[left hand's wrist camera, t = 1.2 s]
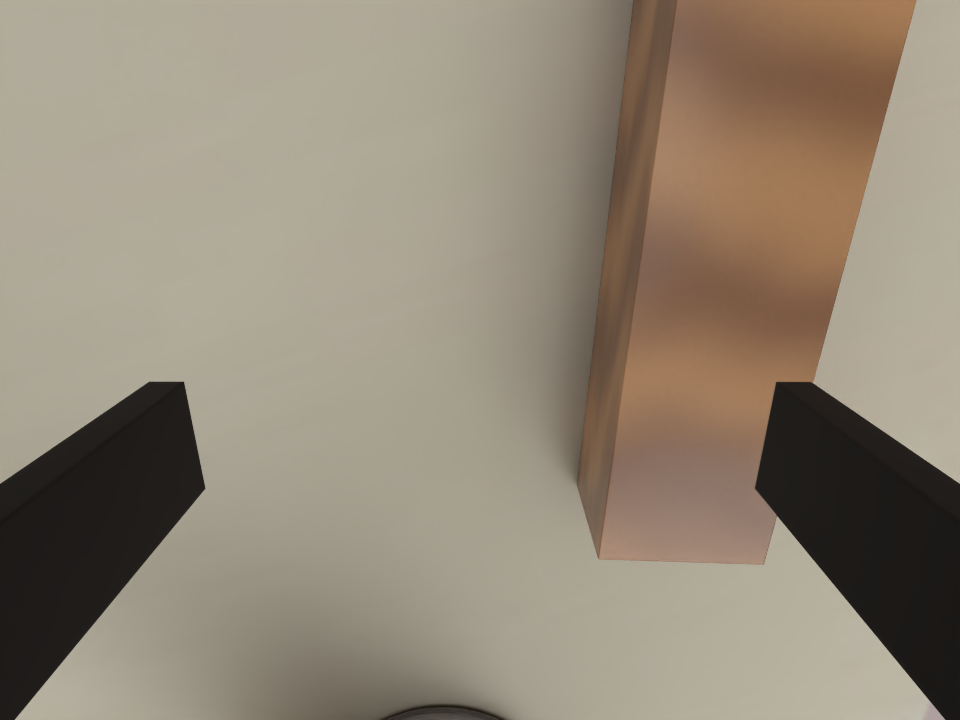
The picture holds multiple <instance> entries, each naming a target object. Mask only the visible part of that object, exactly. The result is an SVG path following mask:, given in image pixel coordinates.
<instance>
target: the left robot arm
mask: <svg viewBox="0 0 960 720" xmlns="http://www.w3.org/2000/svg"><path fill="white" fill-rule="evenodd" d="M204 489H205V485H204V480H203V475H202V470H201V465H200V460H199V455H198V450H197V445H196V440H195V435H194V430H193V425H192V420H191V415H190V410H189V405H188V400H187V395H186V390H185V385H184V382H148V383H147V384H145V385H144V386H143V387H141V388H140V389H138V390H137V391H135V392H134V393H132V394H131V395H129V396H128V397H126V398H125V399H124V400H122V401H121V402H119V403H118V404H116V405H115V406H113V407H112V408H110V409H109V410H107V411H106V412H105V413H103V414H102V415H100V416H99V417H97V418H96V419H94V420H93V421H91V422H90V423H88V424H87V425H86V426H84V427H83V428H81V429H80V430H78V431H77V432H75V433H74V434H72V435H71V436H70V437H68V438H67V439H65V440H64V441H62V442H61V443H59V444H58V445H56V446H55V447H53V448H52V449H51V450H49V451H48V452H46V453H45V454H43V455H42V456H40V457H39V458H37V459H36V460H34V461H33V462H32V463H30V464H29V465H27V466H26V467H24V468H23V469H21V470H20V471H18V472H17V473H15V474H14V475H13V476H11V477H10V478H8V479H7V480H5V481H4V482H2V483H1V484H0V720H15V719H16V717H17V716H18V715H19V714H20V713H21V711H22V710H23V709H24V708H25V707H26V705H27V704H28V703H29V702H30V700H31V699H32V698H33V697H34V696H35V694H36V693H37V692H38V691H39V690H40V688H41V687H42V686H43V685H44V683H45V682H46V681H47V680H48V679H49V677H50V676H51V675H52V674H53V673H54V671H55V670H56V669H57V668H58V666H59V665H60V664H61V663H62V662H63V660H64V659H65V658H66V657H67V656H68V654H69V653H70V652H71V651H72V650H73V648H74V647H75V646H76V645H77V643H78V642H79V641H80V640H81V639H82V637H83V636H84V635H85V634H86V633H87V631H88V630H89V629H90V628H91V626H92V625H93V624H94V623H95V622H96V620H97V619H98V618H99V617H100V616H101V614H102V613H103V612H104V611H105V610H106V608H107V607H108V606H109V605H110V603H111V602H112V601H113V600H114V599H115V597H116V596H117V595H118V594H119V593H120V591H121V590H122V589H123V588H124V586H125V585H126V584H127V583H128V582H129V580H130V579H131V578H132V577H133V576H134V574H135V573H136V572H137V571H138V569H139V568H140V567H141V566H142V565H143V563H144V562H145V561H146V560H147V559H148V557H149V556H150V555H151V554H152V553H153V551H154V550H155V549H156V548H157V546H158V545H159V544H160V543H161V542H162V540H163V539H164V538H165V537H166V536H167V534H168V533H169V532H170V531H171V529H172V528H173V527H174V526H175V525H176V523H177V522H178V521H179V520H180V519H181V517H182V516H183V515H184V514H185V513H186V511H187V510H188V509H189V508H190V506H191V505H192V504H193V503H194V502H195V500H196V499H197V498H198V497H199V496H200V494H201V493H202V492H203V491H204ZM755 489H756V491H757V492H758V493H759V494H760V496H761V497H762V498H763V499H764V500H765V502H766V503H767V504H768V505H769V506H770V508H771V509H772V510H773V511H774V513H775V514H776V515H777V516H778V517H779V519H780V520H781V521H782V522H783V523H784V525H785V526H786V527H787V528H788V529H789V531H790V532H791V533H792V534H793V536H794V537H795V538H796V539H797V540H798V542H799V543H800V544H801V545H802V546H803V548H804V549H805V550H806V551H807V553H808V554H809V555H810V556H811V557H812V559H813V560H814V561H815V562H816V563H817V565H818V566H819V567H820V568H821V569H822V571H823V572H824V573H825V574H826V576H827V577H828V578H829V579H830V580H831V582H832V583H833V584H834V585H835V586H836V588H837V589H838V590H839V591H840V593H841V594H842V595H843V596H844V597H845V599H846V600H847V601H848V602H849V603H850V605H851V606H852V607H853V608H854V610H855V611H856V612H857V613H858V614H859V616H860V617H861V618H862V619H863V620H864V622H865V623H866V624H867V625H868V626H869V628H870V629H871V630H872V631H873V633H874V634H875V635H876V636H877V637H878V639H879V640H880V641H881V642H882V643H883V645H884V646H885V647H886V648H887V650H888V651H889V652H890V653H891V654H892V656H893V657H894V658H895V659H896V660H897V662H898V663H899V664H900V665H901V666H902V668H903V669H904V670H905V671H906V673H907V674H908V675H909V676H910V677H911V679H912V680H913V681H914V682H915V683H916V685H917V686H918V687H919V688H920V690H921V691H922V692H923V693H924V694H925V696H926V697H927V698H928V699H929V700H930V702H931V703H932V704H933V705H934V706H935V708H936V709H937V710H938V711H939V712H940V714H941V715H942V716H943V717H944V719H945V720H960V484H959V483H958V482H956V481H955V480H953V479H952V478H950V477H949V476H947V475H946V474H945V473H943V472H942V471H940V470H939V469H937V468H936V467H934V466H933V465H931V464H930V463H928V462H927V461H926V460H924V459H923V458H921V457H920V456H918V455H917V454H915V453H914V452H912V451H911V450H909V449H908V448H907V447H905V446H904V445H902V444H901V443H899V442H898V441H896V440H895V439H893V438H892V437H890V436H889V435H888V434H886V433H885V432H883V431H882V430H880V429H879V428H877V427H876V426H874V425H873V424H872V423H870V422H869V421H867V420H866V419H864V418H863V417H861V416H860V415H858V414H857V413H855V412H854V411H853V410H851V409H850V408H848V407H847V406H845V405H844V404H842V403H841V402H839V401H838V400H836V399H835V398H834V397H832V396H831V395H829V394H828V393H826V392H825V391H823V390H822V389H820V388H819V387H817V386H816V385H815V384H813V383H812V382H776V385H775V390H774V395H773V400H772V405H771V410H770V415H769V420H768V425H767V430H766V435H765V440H764V445H763V450H762V455H761V460H760V465H759V470H758V475H757V480H756V485H755ZM386 720H500V719H498V718H495V717H493V716H490V715H487V714H484V713H481V712H478V711H473V710H468V709H462V708H452V707H432V708H423V709H416V710H412V711H407V712H404V713H401V714H397V715H395V716H392V717H390V718H388V719H386Z"/></svg>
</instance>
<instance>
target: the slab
mask: <svg viewBox="0 0 960 720" xmlns="http://www.w3.org/2000/svg"><path fill="white" fill-rule="evenodd" d="M915 4H916V0H634V2H633V11H632V19H631V28H630V36H629V45H628V53H627V62H626V70H625V79H624V88H623V96H622V105H621V113H620V122H619V130H618V139H617V147H616V156H615V164H614V173H613V182H612V190H611V199H610V207H609V216H608V224H607V233H606V241H605V250H604V258H603V267H602V276H601V284H600V293H599V301H598V310H597V318H596V327H595V335H594V344H593V352H592V361H591V370H590V378H589V387H588V395H587V404H586V412H585V421H584V429H583V438H582V446H581V455H580V464H579V472H578V481H577V487H578V490H579V494H580V497H581V501H582V504H583V508H584V511H585V515H586V518H587V522H588V525H589V529H590V532H591V535H592V539H593V542H594V546H595V549H596V553H597V556H598V559H610V560H640V561H671V562H701V563H732V564H762V565H763V564H764V562H765V558H766V554H767V551H768V547H769V543H770V539H771V536H772V532H773V528H774V525H775V521H776V517H777V515H776V514H775V513H774V511H773V510H772V509H771V508H770V506H769V505H768V504H767V503H766V502H765V500H764V499H763V498H762V497H761V496H760V494H759V493H758V492H757V491H756V489H755V485H756V480H757V475H758V470H759V465H760V460H761V455H762V450H763V445H764V440H765V435H766V430H767V425H768V420H769V415H770V410H771V405H772V400H773V395H774V390H775V385H776V382H812V383H813V381H814V377H815V373H816V369H817V366H818V362H819V358H820V355H821V351H822V347H823V344H824V340H825V336H826V333H827V329H828V325H829V321H830V318H831V314H832V310H833V307H834V303H835V299H836V296H837V292H838V288H839V284H840V281H841V277H842V273H843V270H844V266H845V262H846V259H847V255H848V251H849V248H850V244H851V240H852V236H853V233H854V229H855V225H856V222H857V218H858V214H859V211H860V207H861V203H862V199H863V196H864V192H865V188H866V185H867V181H868V177H869V174H870V170H871V166H872V163H873V159H874V155H875V151H876V148H877V144H878V140H879V137H880V133H881V129H882V126H883V122H884V118H885V114H886V111H887V107H888V103H889V100H890V96H891V92H892V89H893V85H894V81H895V78H896V74H897V70H898V66H899V63H900V59H901V55H902V52H903V48H904V44H905V41H906V37H907V33H908V29H909V26H910V22H911V18H912V15H913V11H914V7H915Z"/></svg>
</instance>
